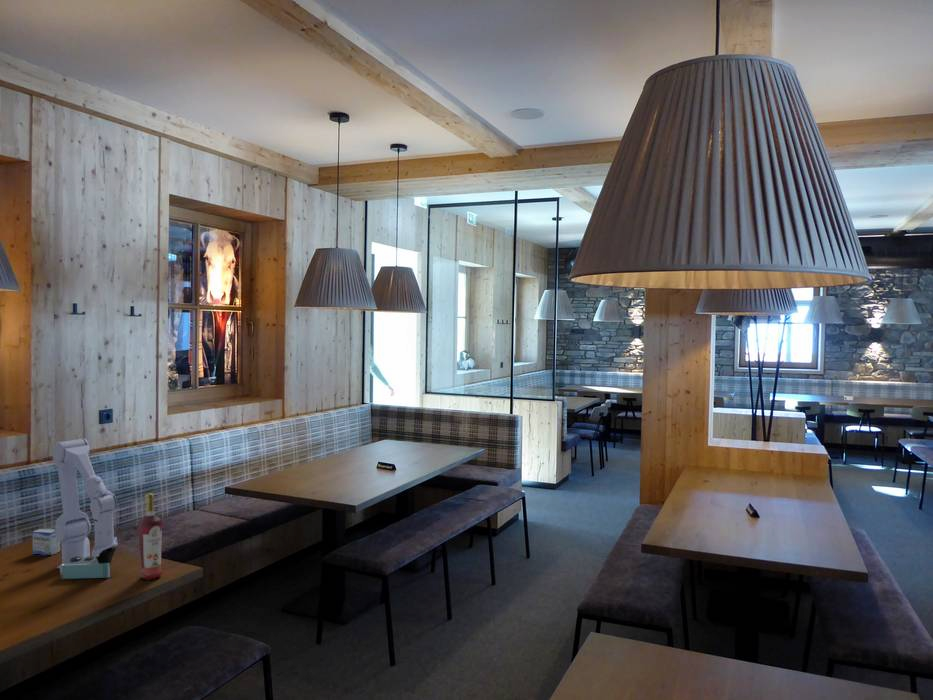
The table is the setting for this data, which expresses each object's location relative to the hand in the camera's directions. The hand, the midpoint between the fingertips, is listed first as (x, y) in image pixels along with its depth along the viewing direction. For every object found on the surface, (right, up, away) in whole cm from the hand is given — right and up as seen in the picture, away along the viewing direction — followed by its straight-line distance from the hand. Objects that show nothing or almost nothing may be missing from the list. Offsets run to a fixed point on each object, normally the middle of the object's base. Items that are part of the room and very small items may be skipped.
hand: (105, 570), depth 229 cm
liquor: (+17, -2, -2) cm, 17 cm away
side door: (-5, -1, -4) cm, 6 cm away
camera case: (-9, -1, +1) cm, 9 cm away
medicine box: (-33, -1, +22) cm, 40 cm away
